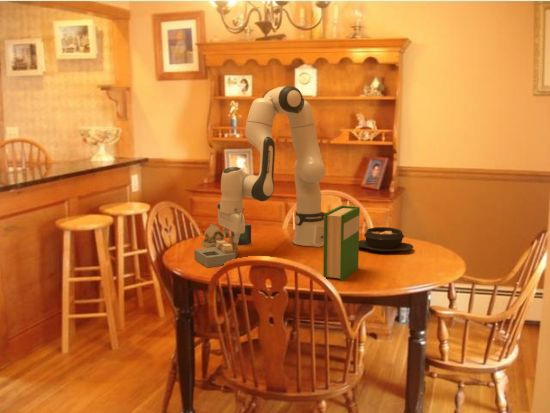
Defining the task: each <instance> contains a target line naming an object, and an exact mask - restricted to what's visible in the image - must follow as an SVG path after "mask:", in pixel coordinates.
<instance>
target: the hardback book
mask: <svg viewBox="0 0 550 413" xmlns="http://www.w3.org/2000/svg"><path fill="white" fill-rule="evenodd" d="M360 211H361V208H360V206H350V205H339V206H337V207H334V208H332V209H331V210H329V211H327V212H326V213H325V212H323V213H324V246H323V266H322V267H323V275H322V276H324V277H326V279H328V278H333V279H339V280H340V282H344V281H345V280H346V279H347V278H349V277H350V276H351V275H352V274H354V272H356V271H357V270H358V269H359V249H360V247H359V241H360V215H361V214H360Z"/></svg>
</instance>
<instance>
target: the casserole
mask: <svg viewBox="0 0 550 413" xmlns="http://www.w3.org/2000/svg"><path fill="white" fill-rule="evenodd" d="M363 236H364V237H365V239H359V248H362V249H367V250H369V251H372V252H377V253H386V254H387V253H388V254H389V253H394V252H401V251H402V252H407V251H410V250H412V249H413V248H414V246H413V245H412V244H411V243H407V242H403V239H404V238H405V235H404V234H403V231H402V230H401V229H399V228H394V227H387V226H385V227H381V226H378V227H376V226H375V227H369V228H367V229H366V232H365V233H364V234H363Z"/></svg>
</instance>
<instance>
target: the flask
mask: <svg viewBox="0 0 550 413" xmlns="http://www.w3.org/2000/svg"><path fill="white" fill-rule="evenodd" d="M230 236H235V235H234V232H232V231H230ZM245 245H247V246H248V245H252V225H251V224H250V223H246V222H245V232H244V233H243V234H240V237H239V242H238V246H245Z"/></svg>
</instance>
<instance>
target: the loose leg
mask: <svg viewBox="0 0 550 413" xmlns="http://www.w3.org/2000/svg"><path fill="white" fill-rule="evenodd" d="M233 238H234V236H231V235H229V238H228V243H229V244H231V245H232V250H233V253H235V254H236V257H238V256H239V245H238V243H234V242H233Z"/></svg>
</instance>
